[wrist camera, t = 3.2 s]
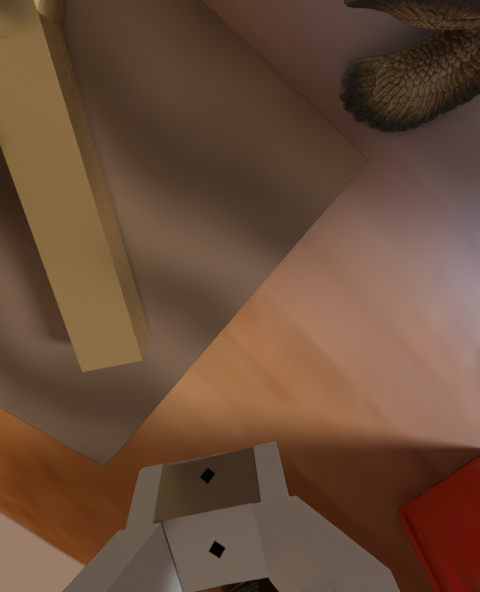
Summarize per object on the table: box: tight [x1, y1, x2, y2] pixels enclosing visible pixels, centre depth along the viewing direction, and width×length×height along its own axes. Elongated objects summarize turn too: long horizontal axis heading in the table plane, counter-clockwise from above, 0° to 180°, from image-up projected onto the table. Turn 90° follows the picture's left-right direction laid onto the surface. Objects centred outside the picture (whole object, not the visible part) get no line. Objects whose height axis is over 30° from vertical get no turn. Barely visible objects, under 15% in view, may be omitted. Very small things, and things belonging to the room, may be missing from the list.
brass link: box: [0, 0, 151, 372], centre depth 17 cm, size 18×4×5 cm, turn 11°
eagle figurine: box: [340, 0, 480, 132], centre depth 17 cm, size 8×7×9 cm
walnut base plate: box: [0, 0, 369, 467], centre depth 21 cm, size 23×22×2 cm
